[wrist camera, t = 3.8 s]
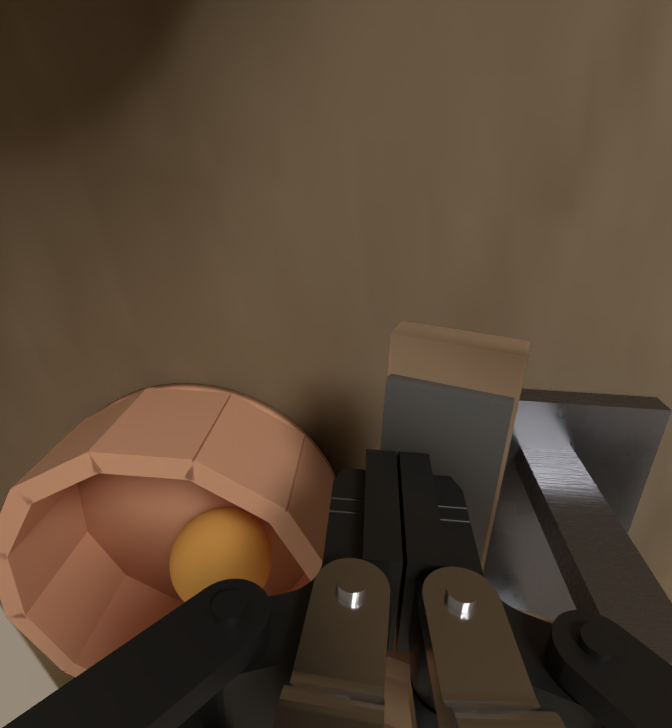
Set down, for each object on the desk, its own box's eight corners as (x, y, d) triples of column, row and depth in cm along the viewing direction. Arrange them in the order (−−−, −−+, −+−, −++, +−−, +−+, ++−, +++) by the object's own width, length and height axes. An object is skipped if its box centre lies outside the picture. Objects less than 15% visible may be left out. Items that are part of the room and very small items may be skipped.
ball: (275, 487, 21) (179, 486, 21) (266, 560, 17) (150, 560, 17) (276, 558, 23) (187, 558, 23) (268, 638, 19) (162, 639, 19)
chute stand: (445, 384, 19) (502, 582, 11) (657, 397, 19) (897, 616, 10) (410, 632, 25) (428, 894, 16) (572, 647, 25) (680, 924, 16)
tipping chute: (435, 283, 16) (368, 358, 10) (996, 357, 11) (1425, 557, 6) (394, 618, 22) (339, 780, 16) (751, 747, 18) (843, 1028, 12)
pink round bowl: (44, 373, 21) (-53, 441, 16) (349, 393, 20) (341, 470, 15) (94, 594, 26) (32, 694, 21) (337, 616, 25) (329, 724, 20)
